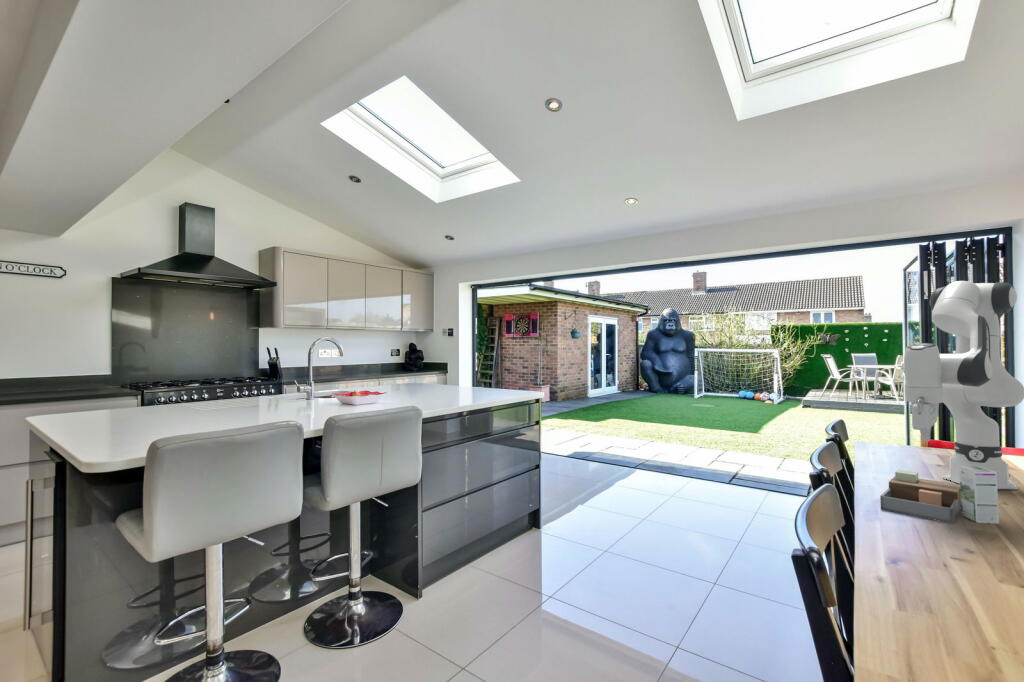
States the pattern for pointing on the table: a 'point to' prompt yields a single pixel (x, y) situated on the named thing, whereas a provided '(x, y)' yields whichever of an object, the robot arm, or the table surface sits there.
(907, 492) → the brown rectangular block
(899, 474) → the sage-green tile
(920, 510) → the box
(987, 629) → the table surface
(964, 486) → the syrup box
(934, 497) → the terracotta tile
